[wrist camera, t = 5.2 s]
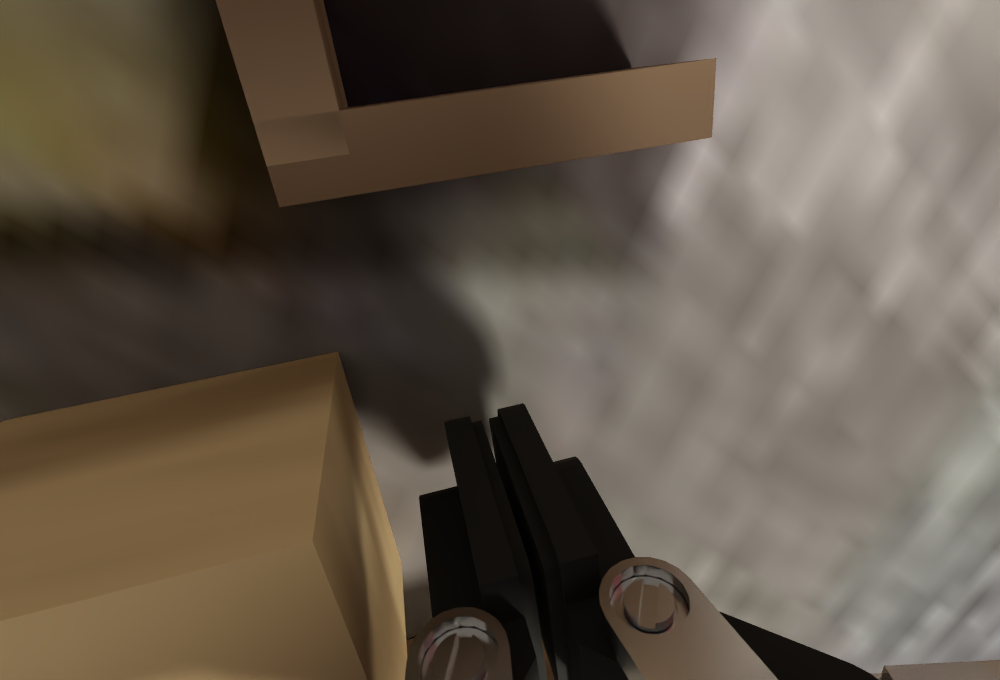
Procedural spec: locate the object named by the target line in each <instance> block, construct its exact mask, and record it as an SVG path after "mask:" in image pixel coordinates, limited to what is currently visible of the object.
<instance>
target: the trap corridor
mask: <svg viewBox="0 0 1000 680" xmlns="http://www.w3.org/2000/svg"><path fill="white" fill-rule="evenodd" d="M216 4H217V7H218V10H219V13H220V17H221V20H222V23H223V26H224V30H225V33H226V36H227V39H228V43H229V46H230V49H231V52H232V55H233V59H234V62H235V65H236V68H237V72H238V75H239V78H240V81H241V85H242V88H243V91H244V94H245V98H246V101H247V104H248V107H249V110H250V114H251V117H252V120H253V123H254V127H255V130H256V133H257V136H258V140H259V143H260V146H261V149H262V153H263V156H264V159H265V162H266V166H267V169H268V172H269V175H270V178H271V182H272V185H273V188H274V191H275V195H276V198H277V201H278V204H279V207H285V206H291V205H297V204H303V203H310V202H316V201H322V200H328V199H334V198H340V197H347V196H353V195H359V194H365V193H371V192H377V191H384V190H390V189H396V188H402V187H408V186H414V185H421V184H427V183H433V182H439V181H445V180H451V179H458V178H464V177H470V176H476V175H482V174H488V173H495V172H501V171H507V170H513V169H519V168H525V167H532V166H538V165H544V164H550V163H556V162H562V161H569V160H575V159H581V158H587V157H593V156H599V155H606V154H612V153H618V152H624V151H630V150H636V149H643V148H649V147H655V146H661V145H667V144H673V143H680V142H686V141H692V140H698V139H704V138H710V137H712V125H713V107H714V89H715V71H716V58H714V59H705V60H697V61H688V62H680V63H671V64H663V65H654V66H645V67H637V68H629V69H622V70H615V71H607V72H600V73H593V74H586V75H579V76H571V77H564V78H557V79H550V80H542V81H535V82H528V83H521V84H513V85H506V86H499V87H492V88H484V89H477V90H470V91H463V92H456V93H448V94H441V95H434V96H427V97H419V98H412V99H405V100H398V101H390V102H383V103H376V104H369V105H361V106H354V107H348V105H347V101H346V96H345V92H344V88H343V83H342V79H341V75H340V70H339V66H338V62H337V57H336V53H335V49H334V44H333V40H332V36H331V31H330V27H329V23H328V18H327V14H326V10H325V5H324V1H323V0H216ZM541 638H542V637H541ZM414 639H415V638H412V639H409V640H406V643H407V657H408V653H409V649H410V646H411V644H412V642H413V640H414ZM542 645H543V652H544V659H545V666H546V673H547V680H555V679H554V676H553V673H552V670H551V666H550V663H549V660H548V657H547V653H546V650H545V647H544V644H543V641H542Z"/></svg>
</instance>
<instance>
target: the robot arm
mask: <svg viewBox="0 0 1000 680" xmlns="http://www.w3.org/2000/svg"><path fill="white" fill-rule="evenodd" d="M489 423H490V429H491V435H492V441H493V447H494V453H495V459H496V462H495V459H494V456H493V453H492V450H491V447H490V444H489V441H488V438H487V435H486V432H485V429H484V426H483V423H482V421H476V422H472V421H471V418H470V416H467V417H462V418H458V419H454V420H449V421H445V422H444V425H445V430H446V435H447V440H448V444H449V449H450V454H451V458H452V463H453V468H454V472H455V477H456V482H457V486H456V487H452V488H448V489H444V490H440V491H436V492H432V493H428V494H424V495H420V496H419V501H420V511H421V519H422V528H423V537H424V546H425V555H426V564H427V572H428V581H429V590H430V599H431V608H432V617H433V618H432V619H430V620H429V621H428V622H427V623H426V624H425V625H424V626H423V627H422V628H421V629H420V630H419V632H418V633H417V635H416V637H415V639H414V640H413V642H412V644H411V646H410V649H409V653H408V657H407V661H406V671H405V680H547V673H546V666H545V659H544V652H543V645H542V641H543V644H544V647H545V650H546V653H547V657H548V660H549V663H550V666H551V670H552V673H553V676H554V679H555V680H1000V660H989V661H969V662H949V663H929V664H909V665H889V666H884V668H883V671H882V673H873V674H870V673H868V672H866V671H864V670H862V669H860V668H859V667H857V666H855V665H853V664H850V663H848V662H845V661H843V660H840V659H838V658H835V657H833V656H830V655H828V654H825V653H823V652H820V651H818V650H815V649H813V648H810V647H808V646H805V645H803V644H800V643H797V642H795V641H792V640H790V639H787V638H785V637H782V636H780V635H777V634H775V633H772V632H770V631H767V630H765V629H762V628H760V627H757V626H755V625H752V624H750V623H747V622H744V621H742V620H739V619H737V618H734V617H732V616H729V615H727V614H724V613H722V612H719V611H718V610H717V609H716V608H715V607H714V605H713V604H712V603H711V602H710V601H709V600H708V599H707V597H706V596H705V595H704V594H703V593H702V592H701V591H700V589H699V588H698V587H697V586H696V585H695V584H694V583H693V581H692V580H691V579H690V578H689V577H688V576H687V575H686V574H684V573H683V572H682V571H681V570H680V569H679V568H677V567H675V566H673V565H671V564H669V563H668V562H666V561H663V560H659V559H655V558H651V557H635V556H634V555H633V553H632V551H631V549H630V548H629V546H628V544H627V542H626V541H625V539H624V537H623V535H622V534H621V532H620V530H619V528H618V527H617V525H616V523H615V521H614V520H613V518H612V516H611V514H610V512H609V511H608V509H607V507H606V505H605V504H604V502H603V500H602V498H601V497H600V495H599V493H598V491H597V490H596V488H595V486H594V484H593V483H592V481H591V479H590V477H589V476H588V474H587V472H586V470H585V469H584V467H583V465H582V463H581V462H580V461H579V459H578V458H577V457H571V458H567V459H563V460H559V461H555V462H553V461H552V459H551V457H550V455H549V453H548V451H547V449H546V447H545V445H544V443H543V441H542V439H541V437H540V435H539V433H538V431H537V429H536V427H535V425H534V423H533V421H532V419H531V417H530V415H529V413H528V410H527V408H526V406H525V405H524V404H523V403H522V404H518V405H514V406H510V407H505V408H501V409H498V417H493V418H489ZM541 637H542V638H541Z"/></svg>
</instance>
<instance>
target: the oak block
mask: <svg viewBox="0 0 1000 680" xmlns="http://www.w3.org/2000/svg"><path fill="white" fill-rule="evenodd" d="M406 661H407V643H406V627H405V611H404V596H403V580H402V564H401V560H400V557H399V554H398V550H397V547H396V544H395V540H394V537H393V534H392V530H391V527H390V524H389V520H388V517H387V514H386V510H385V507H384V504H383V500H382V497H381V494H380V490H379V487H378V483H377V480H376V477H375V473H374V470H373V467H372V463H371V460H370V457H369V453H368V450H367V447H366V443H365V440H364V437H363V433H362V430H361V427H360V423H359V420H358V417H357V413H356V410H355V407H354V403H353V400H352V397H351V393H350V390H349V387H348V383H347V380H346V377H345V373H344V370H343V366H342V363H341V360H340V356H339V353H338V352H334V353H329V354H324V355H319V356H314V357H309V358H305V359H300V360H295V361H290V362H285V363H280V364H275V365H271V366H266V367H261V368H256V369H251V370H246V371H242V372H237V373H232V374H227V375H222V376H217V377H212V378H208V379H203V380H198V381H193V382H188V383H183V384H179V385H174V386H169V387H164V388H159V389H154V390H149V391H145V392H140V393H135V394H130V395H125V396H120V397H115V398H111V399H106V400H101V401H96V402H91V403H86V404H82V405H77V406H72V407H67V408H62V409H57V410H52V411H48V412H43V413H38V414H33V415H28V416H23V417H19V418H14V419H9V420H4V421H2V422H0V680H405V671H406Z"/></svg>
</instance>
